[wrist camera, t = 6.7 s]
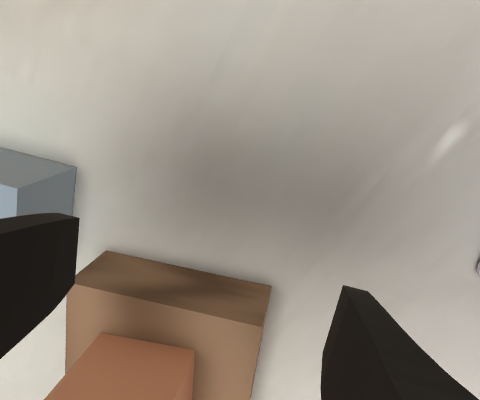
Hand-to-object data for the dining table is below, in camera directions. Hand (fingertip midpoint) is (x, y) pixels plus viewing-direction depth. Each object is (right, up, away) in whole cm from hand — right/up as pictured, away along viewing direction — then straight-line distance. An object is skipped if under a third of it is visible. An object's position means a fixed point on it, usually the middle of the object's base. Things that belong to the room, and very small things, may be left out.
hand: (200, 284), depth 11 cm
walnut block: (-2, -6, +12) cm, 14 cm away
